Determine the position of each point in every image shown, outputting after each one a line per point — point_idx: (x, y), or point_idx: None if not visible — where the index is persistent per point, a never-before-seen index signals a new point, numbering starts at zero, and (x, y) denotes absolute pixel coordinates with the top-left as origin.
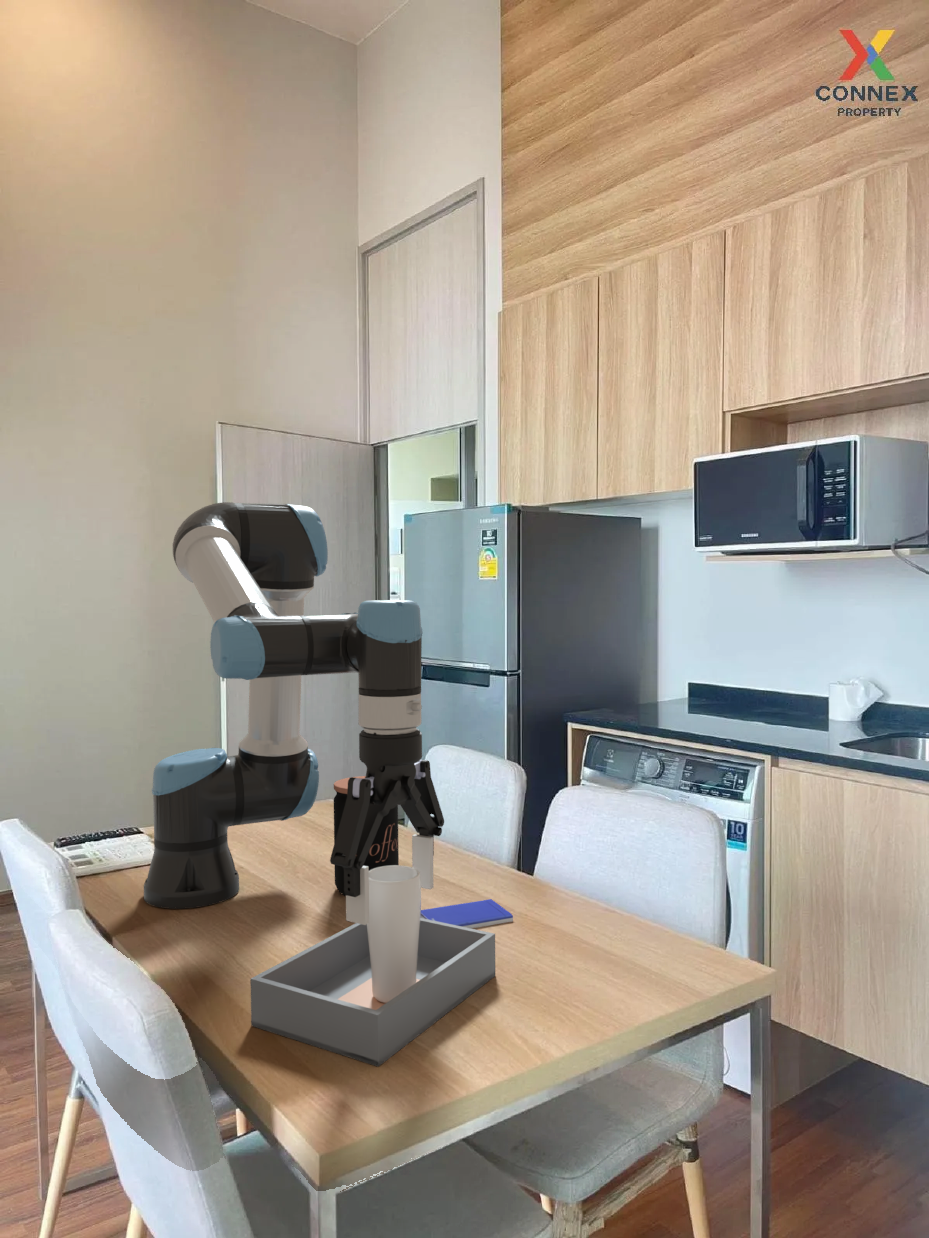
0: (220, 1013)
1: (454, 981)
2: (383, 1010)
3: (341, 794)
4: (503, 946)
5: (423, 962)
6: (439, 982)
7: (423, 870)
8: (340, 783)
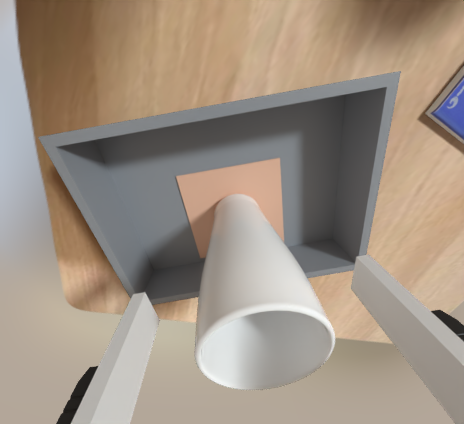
0: (60, 62)
1: None
2: None
3: None
4: (407, 204)
5: (324, 176)
6: None
7: (379, 308)
8: None
